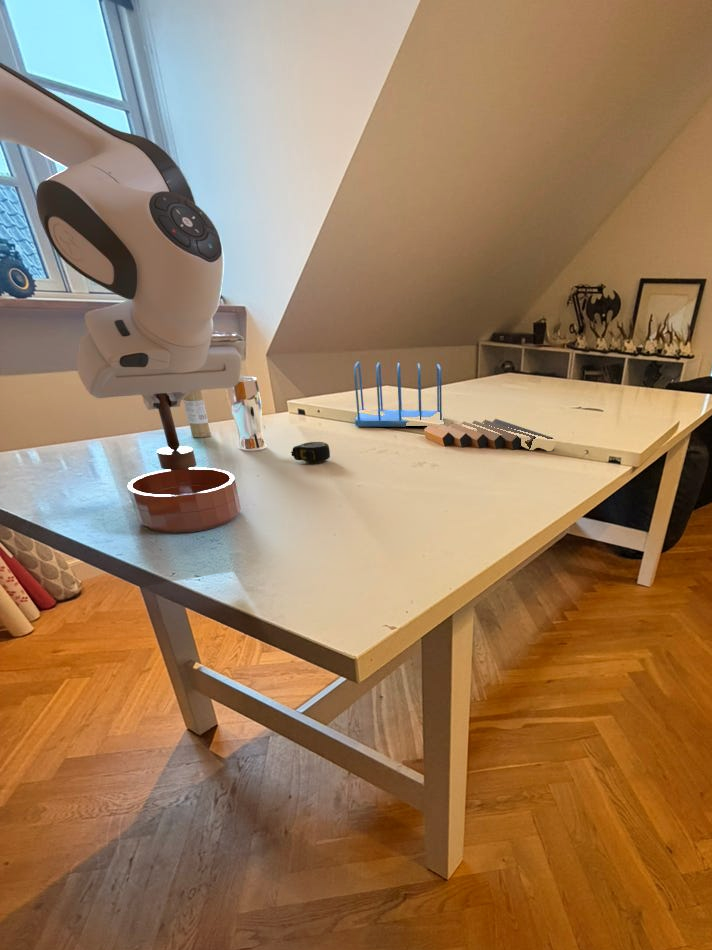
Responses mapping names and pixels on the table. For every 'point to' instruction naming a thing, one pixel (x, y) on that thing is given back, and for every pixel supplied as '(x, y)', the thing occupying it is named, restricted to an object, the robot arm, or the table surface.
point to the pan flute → (480, 435)
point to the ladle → (172, 441)
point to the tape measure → (311, 452)
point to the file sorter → (395, 416)
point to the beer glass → (247, 413)
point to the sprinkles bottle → (197, 414)
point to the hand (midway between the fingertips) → (161, 404)
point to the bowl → (185, 499)
